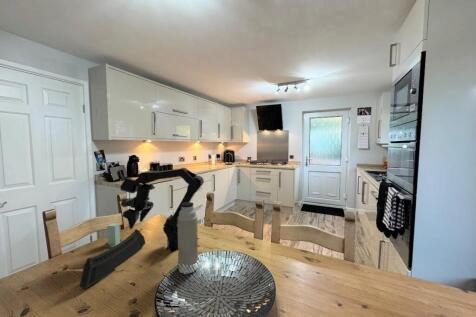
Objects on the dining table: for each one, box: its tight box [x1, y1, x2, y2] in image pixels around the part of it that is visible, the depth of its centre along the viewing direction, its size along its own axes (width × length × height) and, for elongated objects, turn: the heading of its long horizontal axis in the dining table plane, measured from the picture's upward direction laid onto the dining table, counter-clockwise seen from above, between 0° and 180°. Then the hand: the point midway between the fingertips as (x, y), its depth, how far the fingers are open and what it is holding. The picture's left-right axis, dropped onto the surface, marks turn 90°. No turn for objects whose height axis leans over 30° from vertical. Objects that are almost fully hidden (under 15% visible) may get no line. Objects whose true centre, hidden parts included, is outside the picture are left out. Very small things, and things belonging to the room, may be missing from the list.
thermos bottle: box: [177, 201, 199, 266], centre depth 83 cm, size 8×8×28 cm
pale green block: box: [106, 222, 121, 246], centre depth 102 cm, size 4×4×11 cm
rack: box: [101, 238, 124, 249], centre depth 102 cm, size 6×8×2 cm
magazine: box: [79, 228, 146, 289], centre depth 85 cm, size 17×3×30 cm
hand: (135, 225), depth 101 cm, fingers open, 9 cm apart
